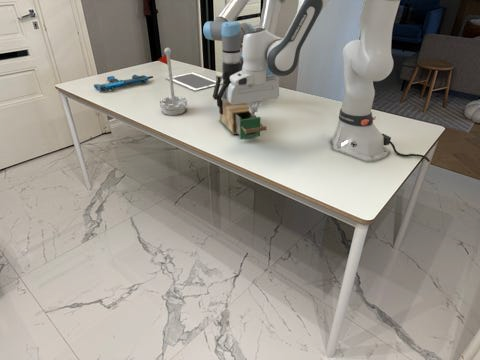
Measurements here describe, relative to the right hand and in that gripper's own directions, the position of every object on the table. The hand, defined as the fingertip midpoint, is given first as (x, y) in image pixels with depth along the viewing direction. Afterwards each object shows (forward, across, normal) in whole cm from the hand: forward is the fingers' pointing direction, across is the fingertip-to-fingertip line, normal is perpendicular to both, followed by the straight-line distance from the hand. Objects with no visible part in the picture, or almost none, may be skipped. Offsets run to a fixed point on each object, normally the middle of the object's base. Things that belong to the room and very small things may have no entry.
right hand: (253, 111), depth 132 cm
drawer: (+12, 0, -8) cm, 15 cm away
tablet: (+14, +1, -91) cm, 92 cm away
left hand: (+9, 0, -24) cm, 26 cm away
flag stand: (+14, +22, -48) cm, 54 cm away
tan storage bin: (+14, 0, -19) cm, 23 cm away
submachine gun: (+14, +42, -103) cm, 112 cm away
